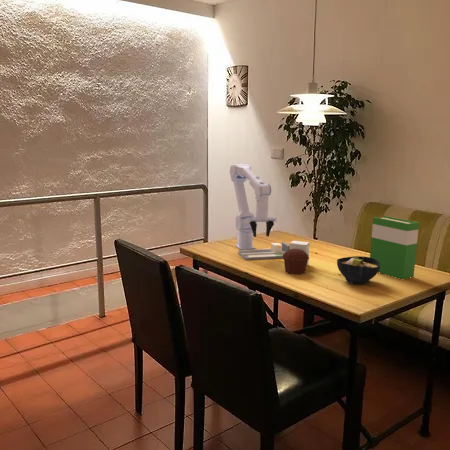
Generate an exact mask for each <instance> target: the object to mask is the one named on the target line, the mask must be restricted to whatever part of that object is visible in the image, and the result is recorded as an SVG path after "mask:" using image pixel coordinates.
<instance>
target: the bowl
mask: <svg viewBox="0 0 450 450" xmlns="http://www.w3.org/2000/svg"><path fill="white" fill-rule="evenodd" d="M336 265H337V268H338V269H337V270H338V271H339V272H340V274H341V275H342V276H343V277H344V278H345V281H346V282H347V283H348V284H352V285H357V286H358V285H359V286H362V285H363V286H364V285H366V284H368V283H369V282H370V281H371V280H372V279H373V278H375V276H377V274H379V273H378V271H379V269H380V263H379V261H377V260H376V259H373V258H370V256H369V257H368V256H363V255H362V256H361V255H360V256H359V255H356V256H347V257H345V256H344V257H341V258H337V260H336Z"/></svg>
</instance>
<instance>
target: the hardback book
mask: <svg viewBox="0 0 450 450" xmlns="http://www.w3.org/2000/svg"><path fill="white" fill-rule="evenodd" d="M371 227H372V230H371V239H370V250H369V251H370V253H369V254H370V255H369V257H370V258H373V259H376V260H377V261H379V263H380V269H379V271H378V272H380V273H379V274H381V273H383V274H382V275H385V274H386V275H385V276H388V275H389V277H391V276H393V277H392V278H394V277H396V278H395V279H398V278H400V279H399V280H401V279H405V280H407V279H406V278H409V279H411V278H410V277H413V278H414V277H415V265H416V257H417V247H418V237H419V228H420V222H419V221H414V220H409V219H403V218H397V217H393V216H387V215H382V217H378V216H377V217H376V216H373V218H372V226H371Z"/></svg>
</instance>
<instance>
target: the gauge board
mask: <svg viewBox="0 0 450 450" xmlns="http://www.w3.org/2000/svg"><path fill="white" fill-rule="evenodd" d="M281 245H282V252H272V251H271V248H255V249H239V250H238V255H239V256H241V257H242V258H243V259H244V260H245V261H248V260H250V261H253V260H272V259H273V260H274V259H283V257H282V256H283V254H284V253H285V252H286V251H287V250H289V247H290V244H288V243H287V242H286V241H281Z"/></svg>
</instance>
